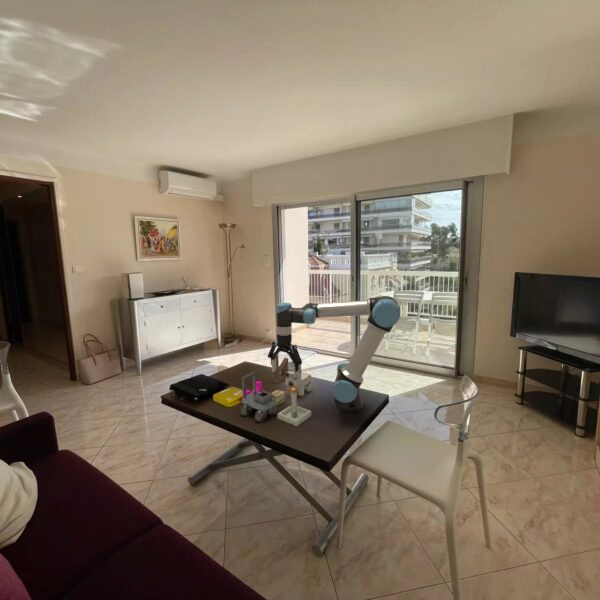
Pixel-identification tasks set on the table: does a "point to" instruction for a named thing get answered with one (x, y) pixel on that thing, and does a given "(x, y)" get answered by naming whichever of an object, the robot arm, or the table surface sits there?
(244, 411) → the trolley
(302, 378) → the toy llama
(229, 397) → the yellow square case
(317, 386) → the table surface
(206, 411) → the table surface
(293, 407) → the pin
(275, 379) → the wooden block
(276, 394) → the chock
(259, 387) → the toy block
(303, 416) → the tray
